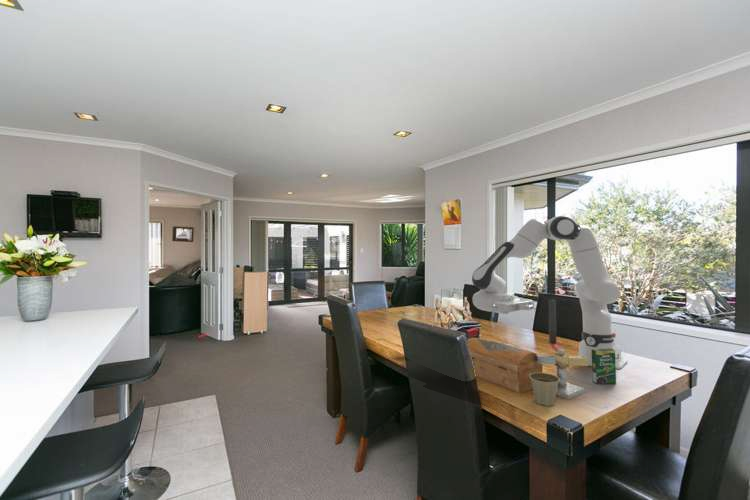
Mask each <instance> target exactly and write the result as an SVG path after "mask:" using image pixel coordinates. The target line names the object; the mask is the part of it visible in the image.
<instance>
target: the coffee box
mask: <svg viewBox="0 0 750 500" xmlns="http://www.w3.org/2000/svg"><path fill="white" fill-rule="evenodd" d="M591 369H592V372H591V373H592V383H595V384H596V385H605V384H606V385H607V384H608V385H609V384H610V385H613V384H617V369H616V363H615V350H613V349H611V348H609V349H592V366H591Z"/></svg>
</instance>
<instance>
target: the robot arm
mask: <svg viewBox="0 0 750 500" xmlns="http://www.w3.org/2000/svg"><path fill="white" fill-rule="evenodd" d="M545 239H546V240H550V241H566V242H567V244H568V246H569V249H570V252H571V256H572V259H573V263H574V267H575V270H576V271H577V272H578V273H579V275H580V276H581V279H580V280H578V281H577V282H576V285H575V291H576V293H577V295H578V299H579V304H580V307H581V312H582V313H581V315H582V331H581V339H582V340H581V341H579V344H578V345H579V346H578V356H580V357H586V358H588V367H592V349H609V348H611V349H613V350H615V363H616V370H617V369H618V370H621V369H623V367H624V366H625V365H626V364H627V363H628V359H626V358H623V357H622V349H621V347H619V346H618V345H617V344H616V343H615V342H614V341H615V338H616V333H615V332H612V316H611V314H610V311H609V309H608V306H607V305H610V304H614V303H615V302H617V301H618V300H619V298H620V296H621V290H620V288H619V286H618V284H616V283H615V282H614V280H613V279H612V277H611V275H610V273H609V271H608V270H607V268H606V266H605V264H604V261H603V258H602V255H601V252H600V248H599V244H598V242H597V239H596V237H595V234H594V233H593V231H592V228H590V227H589V226H587V225H579V224H578V223H577V222H576V221H575V219H573V218H571V217H570V216H568V215H558V216H553V217H552V218H549V219H547V220H545V221H543V220H541V219H537V218H532V219H530V220H529V219H528V221H527V222H526V223H525V224H524V225H523V226H522V227H521V228H520V229H519V230H518V231H517V233H516V234H515V235H514V236H513V237H512V238H511V240H509V241H505V242H503V243H502V244H501V245H500V246H499V247H498V248H497V249H496V250H494V252H493V253H492V254H491V255H490V256H489V257H488V258H487V259H486V260H485V262H484V263H482V265H480V266H479V267H478V268H476V269H475V270H474V271H473V273H472V274H471V275H472V277H471V280H472V281H471V282H472V284H473V286H474V287H476V288H478V289H479V291H477V292H475V293H474V294H473V295H472V304H473V306H474V307H475V308H476V309H477V310H480V311H486V312H489V313H491V312H493V313H497V314H503V315H508V314H509V313H512V312H513V313H514V312H517V311H524V310H525V311H532V310H533V309H534V308H535V303H534V300H532V299H529V298H524V297H519V296H517V295H509V294H506V291H507V282H506V280H505V279H503V277H500V276H499V275H497V274H496V273H495V271H496V270H497V269H498V268H499V267H500V265H502V264H503V263H504V261H506V259H508V258H518V259H525V258H529V257H531V255H532V254H533V253H534V252H535V251H536V250H537V248H538V247H539V245H540V244H541V243H542V242H543V240H545Z"/></svg>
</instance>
